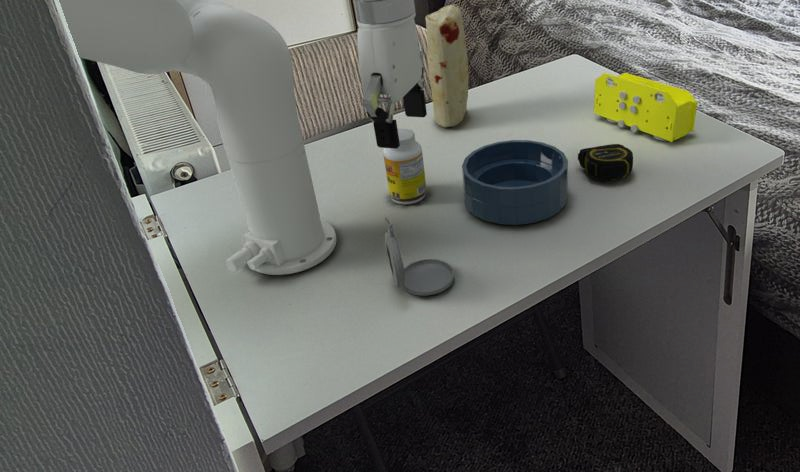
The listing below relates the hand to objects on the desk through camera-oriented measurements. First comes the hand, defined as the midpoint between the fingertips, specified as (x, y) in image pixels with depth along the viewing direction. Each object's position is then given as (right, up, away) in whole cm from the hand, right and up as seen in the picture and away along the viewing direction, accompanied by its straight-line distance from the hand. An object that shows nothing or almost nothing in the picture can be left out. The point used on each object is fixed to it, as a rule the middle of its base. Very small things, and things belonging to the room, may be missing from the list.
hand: (403, 131), depth 92 cm
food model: (+9, +6, +27) cm, 29 cm away
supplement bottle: (+1, -9, +6) cm, 11 cm away
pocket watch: (+2, -21, -12) cm, 24 cm away
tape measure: (+30, -6, +5) cm, 30 cm away
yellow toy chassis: (+39, +3, +15) cm, 42 cm away
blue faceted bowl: (+16, -10, +1) cm, 19 cm away
